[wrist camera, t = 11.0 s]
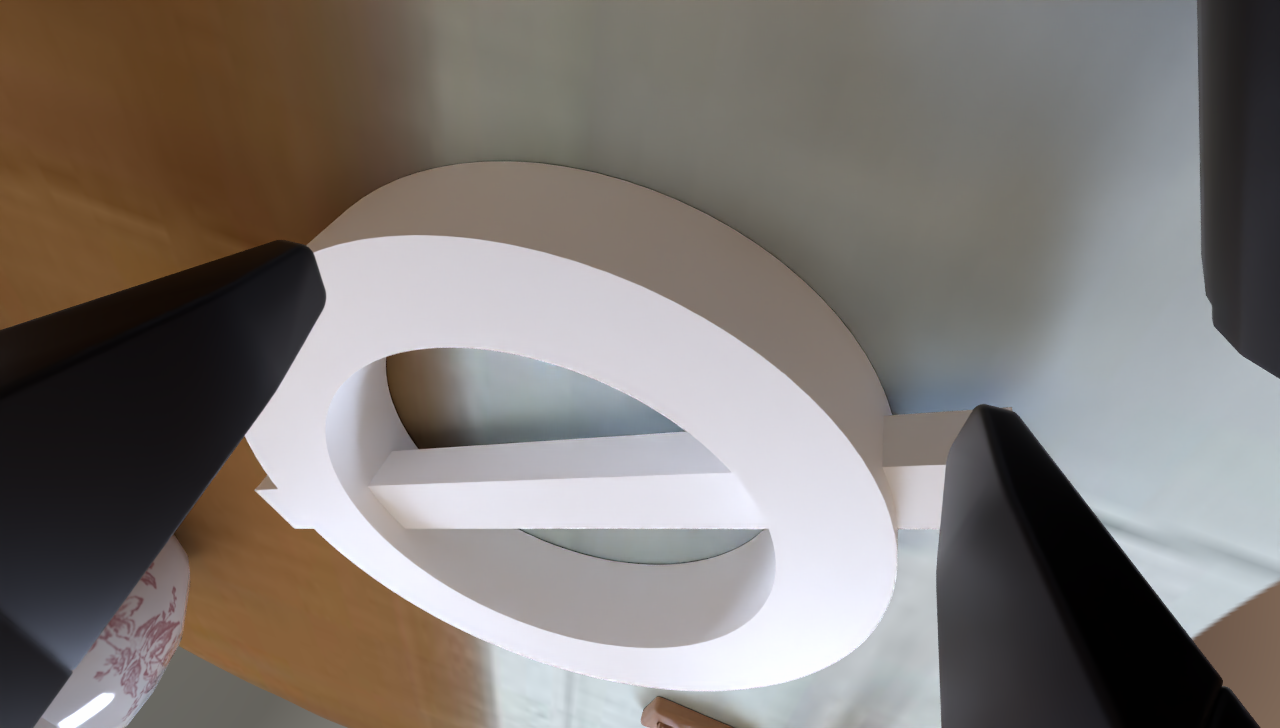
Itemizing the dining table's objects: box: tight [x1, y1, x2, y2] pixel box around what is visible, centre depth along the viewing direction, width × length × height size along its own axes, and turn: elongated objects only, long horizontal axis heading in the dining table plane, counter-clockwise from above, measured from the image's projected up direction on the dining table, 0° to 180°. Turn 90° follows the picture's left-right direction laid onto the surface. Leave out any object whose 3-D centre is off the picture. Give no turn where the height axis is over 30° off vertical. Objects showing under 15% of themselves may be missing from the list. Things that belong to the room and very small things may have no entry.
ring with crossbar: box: [245, 161, 1012, 691], centre depth 30 cm, size 28×28×5 cm
